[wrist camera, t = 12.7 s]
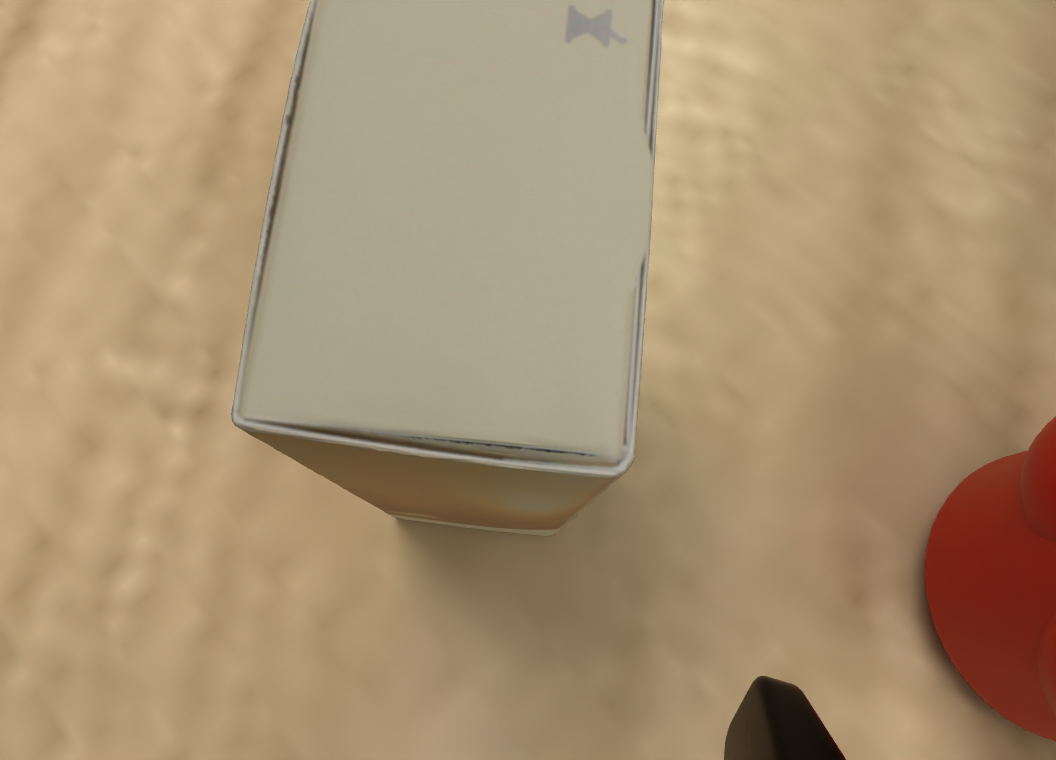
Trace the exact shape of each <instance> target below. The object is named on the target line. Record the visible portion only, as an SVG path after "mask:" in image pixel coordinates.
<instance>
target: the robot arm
mask: <svg viewBox="0 0 1056 760" xmlns="http://www.w3.org/2000/svg"><path fill="white" fill-rule="evenodd" d="M724 760H846V759H845V757H844V756H843V754H842V752H841V751H840V749H839V748H838V746H837V745H836V743H835V742H834V740H833V738H832V737H831V735H830V734H829V732H828V731H827V729H826V727H825V726H824V724H823V723H822V721H821V720H820V718H819V717H818V715H817V713H816V712H815V710H814V709H813V707H812V706H811V704H810V703H809V701H808V699H807V698H806V696H805V695H804V693H803V692H802V691H801V690H800V689H799V688H798V687H797V686H795V685H793V684H790V683H787V682H784V681H780V680H777V679H774V678H770V677H767V676H760V677H757V678H756V679H755V680H754V681H753V683H752V684H751V686H750V688H749V690H748V692H747V694H746V695H745V697H744V699H743V701H742V703H741V705H740V707H739V709H738V710H737V712H736V714H735V716H734V718H733V720H732V722H731V724H730V726H729V729H728V732H727V736H726V742H725V751H724Z"/></svg>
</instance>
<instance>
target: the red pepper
mask: <svg viewBox="0 0 1056 760" xmlns="http://www.w3.org/2000/svg"><path fill="white" fill-rule="evenodd" d="M925 583H926V591H927V599H928V604H929V608H930V611H931V615H932V619H933V622H934V625H935V627H936V630H937V633H938V635H939V638H940V640H941V642H942V644H943V646H944V648H945V650H946V652H947V654H948V656H949V657H950V659H951V660H952V662H953V663H954V665H955V666H956V668H957V669H958V671H959V672H960V674H961V675H962V677H963V678H964V679H965V680H966V681H967V682H968V684H969V685H970V686H971V687H972V688H973V690H974V691H975V692H976V693H977V694H978V695H979V696H980V697H981V698H982V699H984V700H985V701H986V702H987V703H988V704H989V705H990V706H991V707H992V708H994V709H995V710H996V711H998V712H999V713H1000V714H1002V715H1003V716H1004V717H1006V718H1007V719H1008V720H1010V721H1012V722H1014V723H1015V724H1017V725H1019V726H1020V727H1022V728H1024V729H1026V730H1028V731H1030V732H1032V733H1035V734H1037V735H1039V736H1042V737H1044V738H1047V739H1051V740H1054V741H1056V417H1054V418H1053V419H1052V420H1051V421H1050V422H1049V423H1048V424H1047V425H1046V426H1045V427H1044V428H1043V429H1042V431H1041V432H1040V433H1039V434H1038V435H1037V437H1036V438H1035V439H1034V441H1033V443H1032V444H1031V446H1030V448H1029V450H1028V451H1025V452H1021V453H1018V454H1014V455H1011V456H1007V457H1004V458H1000V459H998V460H996V461H993V462H991V463H989V464H986V465H984V466H983V467H981V468H980V469H978V470H976V471H975V472H973V473H972V474H970V475H969V476H968V477H967V478H966V479H965V480H963V481H962V482H961V483H960V484H959V485H958V486H957V487H956V488H955V490H954V491H953V492H952V493H951V494H950V495H949V497H948V498H947V500H946V501H945V503H944V505H943V506H942V508H941V509H940V511H939V513H938V515H937V518H936V520H935V522H934V525H933V527H932V530H931V534H930V538H929V541H928V545H927V553H926V561H925Z"/></svg>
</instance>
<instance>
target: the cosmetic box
mask: <svg viewBox="0 0 1056 760" xmlns="http://www.w3.org/2000/svg"><path fill="white" fill-rule="evenodd" d="M663 7H664V0H310V3H309V7H308V11H307V15H306V19H305V23H304V26H303V30H302V33H301V38H300V43H299V47H298V51H297V55H296V59H295V64H294V69H293V73H292V77H291V79H290V85H289V90H288V96H287V101H286V106H285V110H284V115H283V120H282V125H281V132H280V137H279V142H278V146H277V150H276V155H275V162H274V167H273V172H272V177H271V182H270V187H269V193H268V198H267V203H266V208H265V214H264V219H263V225H262V230H261V236H260V242H259V248H258V254H257V259H256V264H255V270H254V275H253V281H252V287H251V293H250V300H249V307H248V314H247V321H246V325H245V330H244V336H243V343H242V351H241V358H240V364H239V371H238V377H237V383H236V389H235V396H234V402H233V407H232V413H231V416H232V422H233V423H234V425H235V426H237V427H238V428H240V429H242V430H244V431H245V432H247V433H248V434H250V435H251V436H253V437H255V438H257V439H259V440H261V441H263V442H265V443H267V444H268V445H270V446H272V447H273V448H275V449H276V450H278V451H280V452H282V453H283V454H285V455H287V456H289V457H291V458H292V459H294V460H296V461H297V462H299V463H301V464H302V465H304V466H306V467H307V468H309V469H311V470H313V471H314V472H316V473H318V474H320V475H322V476H324V477H325V478H327V479H329V480H330V481H332V482H334V483H336V484H338V485H339V486H341V487H342V488H344V489H346V490H348V491H349V492H351V493H352V494H354V495H356V496H358V497H360V498H362V499H363V500H365V501H367V502H369V503H371V504H372V505H374V506H376V507H378V508H379V509H381V510H383V511H384V512H386V513H388V514H389V515H391V516H393V517H396V518H398V519H406V520H413V521H420V522H427V523H434V524H442V525H450V526H458V527H465V528H473V529H481V530H489V531H498V532H509V533H519V534H528V535H539V536H551V535H554V534H555V533H556V532H557V531H559V530H560V529H561V528H562V527H564V526H565V525H566V524H567V523H568V522H569V521H570V520H571V519H573V518H574V517H575V516H576V515H577V514H578V513H579V512H581V511H582V510H583V509H584V508H585V507H586V506H588V505H589V504H590V503H591V502H592V501H593V500H594V499H595V498H596V497H598V496H599V495H600V494H601V493H602V492H603V491H605V490H606V489H607V488H608V487H609V486H610V485H611V484H613V483H614V482H615V481H616V480H617V479H618V478H619V477H621V476H622V475H623V474H624V473H625V472H626V471H627V470H628V469H629V467H630V466H631V464H632V462H633V460H634V456H635V444H636V428H637V415H638V403H639V390H640V378H641V365H642V350H643V335H644V322H645V309H646V295H647V275H648V264H649V252H650V236H651V219H652V201H653V183H654V164H655V145H656V126H657V109H658V95H659V74H660V61H661V31H662V18H663Z"/></svg>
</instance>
